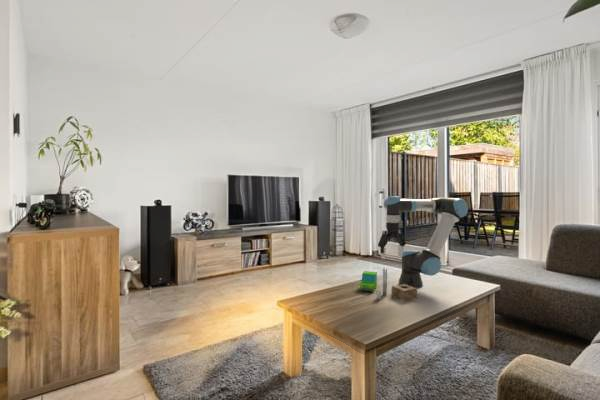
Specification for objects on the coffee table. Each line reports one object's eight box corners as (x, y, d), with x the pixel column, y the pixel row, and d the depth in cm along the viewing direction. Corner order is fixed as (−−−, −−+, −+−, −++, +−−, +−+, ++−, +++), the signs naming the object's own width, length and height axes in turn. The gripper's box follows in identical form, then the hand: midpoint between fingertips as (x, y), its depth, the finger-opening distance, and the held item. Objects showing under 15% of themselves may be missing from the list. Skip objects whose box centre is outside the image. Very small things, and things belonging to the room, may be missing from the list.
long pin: (381, 294, 204) (382, 268, 204) (384, 294, 205) (385, 268, 205) (384, 296, 202) (384, 269, 201) (387, 295, 203) (387, 269, 202)
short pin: (375, 299, 196) (375, 291, 196) (378, 299, 197) (378, 290, 197) (378, 301, 194) (378, 292, 193) (381, 300, 195) (381, 291, 195)
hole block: (391, 295, 203) (392, 286, 202) (404, 293, 207) (404, 283, 207) (403, 301, 194) (404, 290, 193) (416, 298, 198) (417, 288, 198)
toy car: (358, 291, 210) (358, 275, 210) (362, 285, 223) (362, 270, 222) (374, 293, 206) (374, 277, 206) (378, 287, 219) (378, 272, 218)
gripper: (381, 223, 191) (380, 260, 192) (412, 221, 203) (411, 256, 204) (372, 222, 198) (371, 258, 199) (403, 220, 210) (402, 254, 211)
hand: (391, 257), depth 201 cm, fingers open, 13 cm apart
